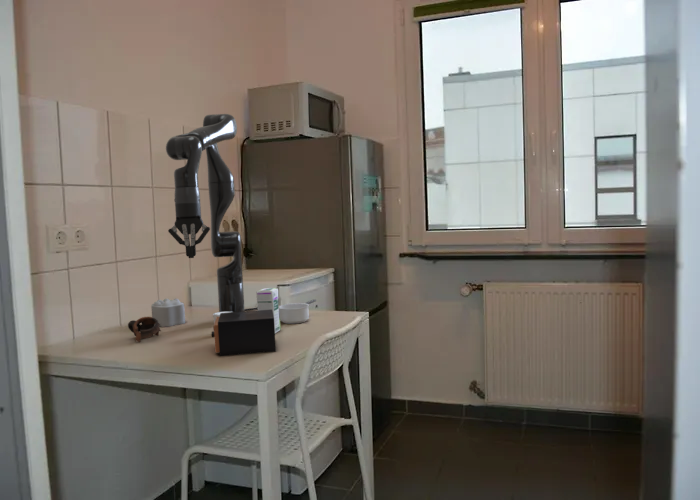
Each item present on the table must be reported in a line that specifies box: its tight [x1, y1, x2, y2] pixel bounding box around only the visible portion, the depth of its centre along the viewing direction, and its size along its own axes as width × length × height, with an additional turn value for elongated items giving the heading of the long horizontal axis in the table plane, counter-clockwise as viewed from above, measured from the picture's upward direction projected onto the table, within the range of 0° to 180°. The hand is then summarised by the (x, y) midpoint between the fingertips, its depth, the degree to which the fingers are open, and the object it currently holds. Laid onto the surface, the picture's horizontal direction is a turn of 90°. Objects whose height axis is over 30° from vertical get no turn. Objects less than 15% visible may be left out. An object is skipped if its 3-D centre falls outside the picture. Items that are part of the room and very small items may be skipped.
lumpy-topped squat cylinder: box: [150, 298, 186, 328], centre depth 208 cm, size 10×13×9 cm
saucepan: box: [279, 299, 317, 325], centre depth 206 cm, size 12×20×6 cm, turn 150°
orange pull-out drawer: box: [211, 317, 220, 354], centre depth 166 cm, size 16×13×8 cm
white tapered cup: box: [212, 311, 230, 325], centre depth 186 cm, size 7×7×7 cm
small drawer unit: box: [218, 309, 277, 357], centre depth 166 cm, size 16×14×10 cm
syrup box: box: [255, 287, 282, 335], centre depth 186 cm, size 6×6×14 cm
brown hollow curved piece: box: [127, 316, 162, 343], centre depth 183 cm, size 12×10×8 cm
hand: (191, 257), depth 173 cm, fingers closed
